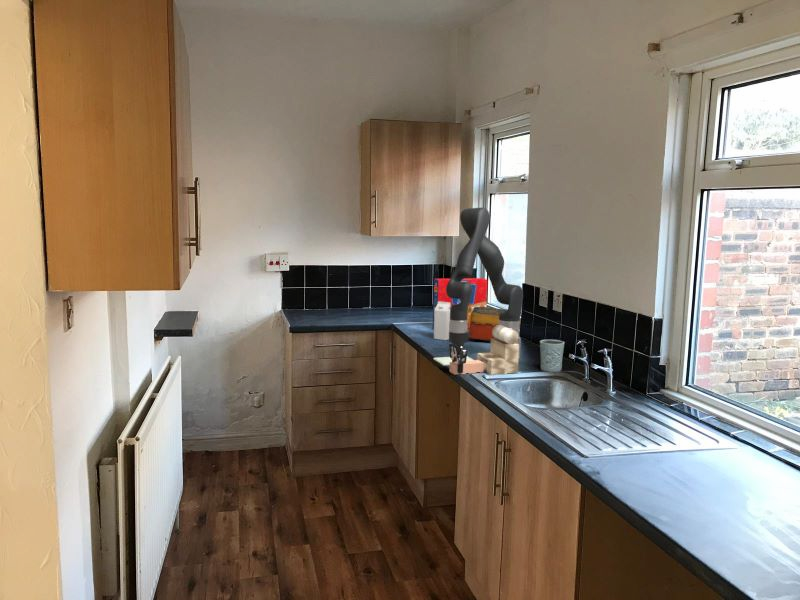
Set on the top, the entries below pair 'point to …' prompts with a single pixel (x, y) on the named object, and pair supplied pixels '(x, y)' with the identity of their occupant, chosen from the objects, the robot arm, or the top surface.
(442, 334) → the milk carton
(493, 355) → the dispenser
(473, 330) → the decorative box
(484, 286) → the pasta box
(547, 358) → the grey green plant pot
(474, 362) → the peach rectangular slab
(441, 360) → the mat
